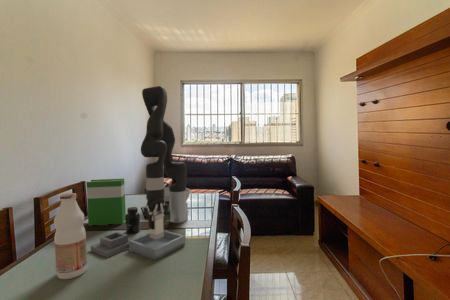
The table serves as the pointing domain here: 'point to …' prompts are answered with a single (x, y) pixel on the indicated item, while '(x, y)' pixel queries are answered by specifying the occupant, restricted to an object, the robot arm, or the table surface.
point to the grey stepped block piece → (111, 244)
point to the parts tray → (156, 244)
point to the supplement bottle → (132, 220)
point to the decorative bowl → (168, 195)
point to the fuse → (157, 226)
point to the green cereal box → (106, 201)
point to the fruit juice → (70, 239)
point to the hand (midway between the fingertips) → (156, 227)
